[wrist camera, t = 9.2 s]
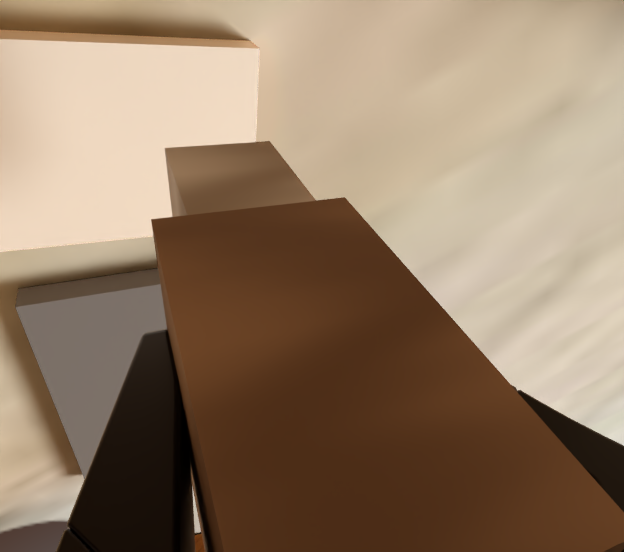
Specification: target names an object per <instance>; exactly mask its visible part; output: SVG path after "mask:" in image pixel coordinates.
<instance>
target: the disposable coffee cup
mask: <svg viewBox="0 0 624 552" xmlns="http://www.w3.org/2000/svg"><path fill="white" fill-rule="evenodd" d="M195 551H196V552H205V549H204V543H203V538H202V534H198V535H195Z"/></svg>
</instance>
